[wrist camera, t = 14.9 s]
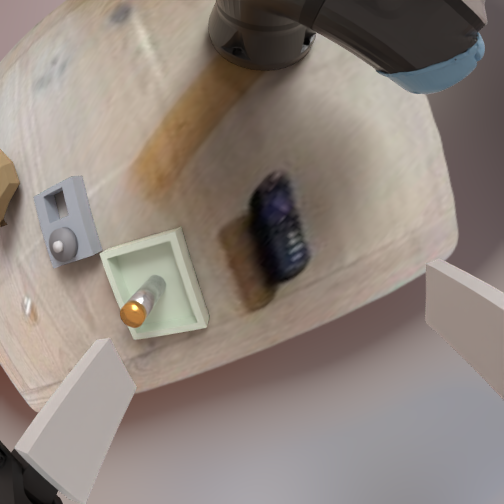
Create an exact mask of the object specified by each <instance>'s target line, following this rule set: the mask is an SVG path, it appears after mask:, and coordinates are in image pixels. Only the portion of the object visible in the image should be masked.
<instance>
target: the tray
mask: <svg viewBox="0 0 504 504" xmlns="http://www.w3.org/2000/svg"><path fill="white" fill-rule="evenodd" d="M100 257H101V260H102V263H103V266H104V269H105V271H106V274H107V277H108V280H109V282H110V285H111V287H112V290H113V293H114V295H115V298H116V300H117V303H118V305H119V307H120V310H121V308H122V307H123V306H124V305H125V304H126V303H127V301H128V300H129V299H130V298H131V297H132V296H133V295H134V294H135V293H136V291H137V290H138V289H139V288H140V287H141V286H142V285H143V284H144V283H145V282H146V280H147V279H148V278H149V277H150V276H152V275H159V276H161V277H162V278H163V279H164V280H165V282H166V289H165V291H164V293H163V294H162V296H161V297H160V298H159V300H158V301H157V303H156V304H155V306H154V307H153V309H152V310H151V312H150V313H149V315H148V316H147V318H146V319H145V321H144V322H143V324H142V325H141V326H140V327H137V328H132V327H129V326H128V328H129V330H130V332H131V335H132V337H133V339H134V340H137V339H144V338H150V337H157V336H163V335H169V334H175V333H181V332H186V331H192V330H197V329H203V328H207V325H208V321H209V317H210V316H209V313H208V310H207V307H206V304H205V301H204V298H203V295H202V292H201V289H200V286H199V283H198V280H197V277H196V274H195V270H194V267H193V264H192V261H191V258H190V254H189V251H188V248H187V244H186V241H185V238H184V234H183V231H182V227H179V228H175V229H171V230H168V231H164V232H161V233H157V234H154V235H151V236H147V237H144V238H140V239H137V240H134V241H130V242H127V243H124V244H121V245H117V246H114V247H111V248H109V249H107V250H105V251H103V252H102V253H100Z"/></svg>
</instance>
